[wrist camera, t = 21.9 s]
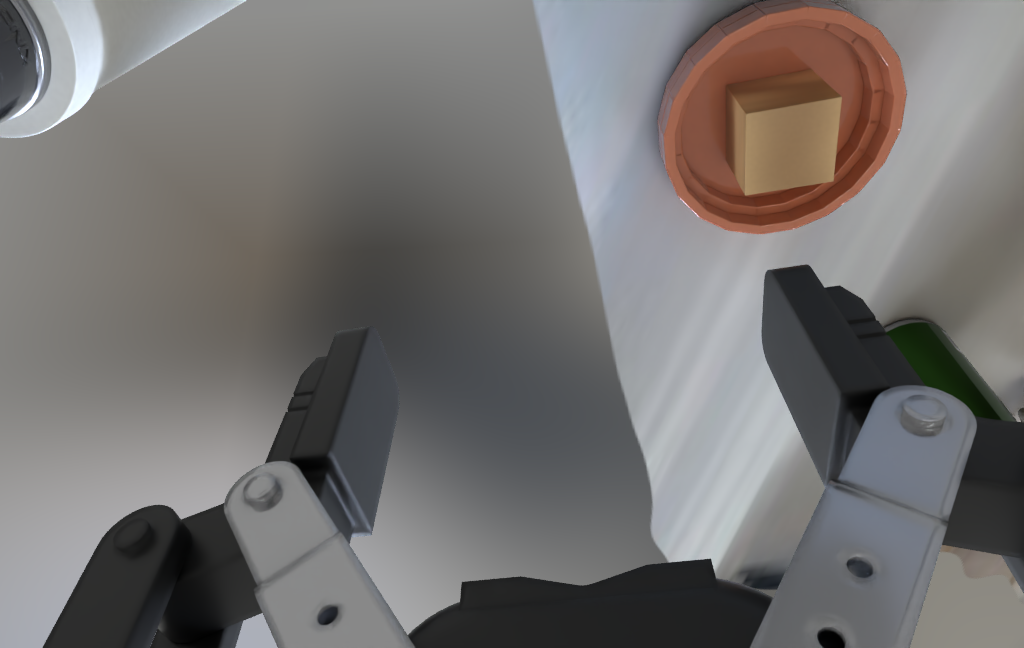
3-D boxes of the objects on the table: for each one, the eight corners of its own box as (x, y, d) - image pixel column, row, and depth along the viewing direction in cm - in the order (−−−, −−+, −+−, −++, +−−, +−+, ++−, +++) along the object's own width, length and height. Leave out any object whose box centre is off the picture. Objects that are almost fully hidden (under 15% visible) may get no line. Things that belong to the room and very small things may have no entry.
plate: (663, 224, 41) (671, 248, 39) (649, 21, 34) (657, 36, 32) (866, 192, 40) (887, 215, 37) (896, -29, 32) (925, -18, 30)
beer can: (920, 302, 44) (1024, 432, 35) (957, 345, 47) (1064, 479, 37) (848, 345, 47) (926, 478, 37) (885, 384, 49) (969, 519, 40)
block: (725, 161, 38) (744, 196, 35) (725, 84, 36) (745, 113, 32) (806, 147, 38) (833, 181, 34) (811, 68, 35) (842, 96, 31)
